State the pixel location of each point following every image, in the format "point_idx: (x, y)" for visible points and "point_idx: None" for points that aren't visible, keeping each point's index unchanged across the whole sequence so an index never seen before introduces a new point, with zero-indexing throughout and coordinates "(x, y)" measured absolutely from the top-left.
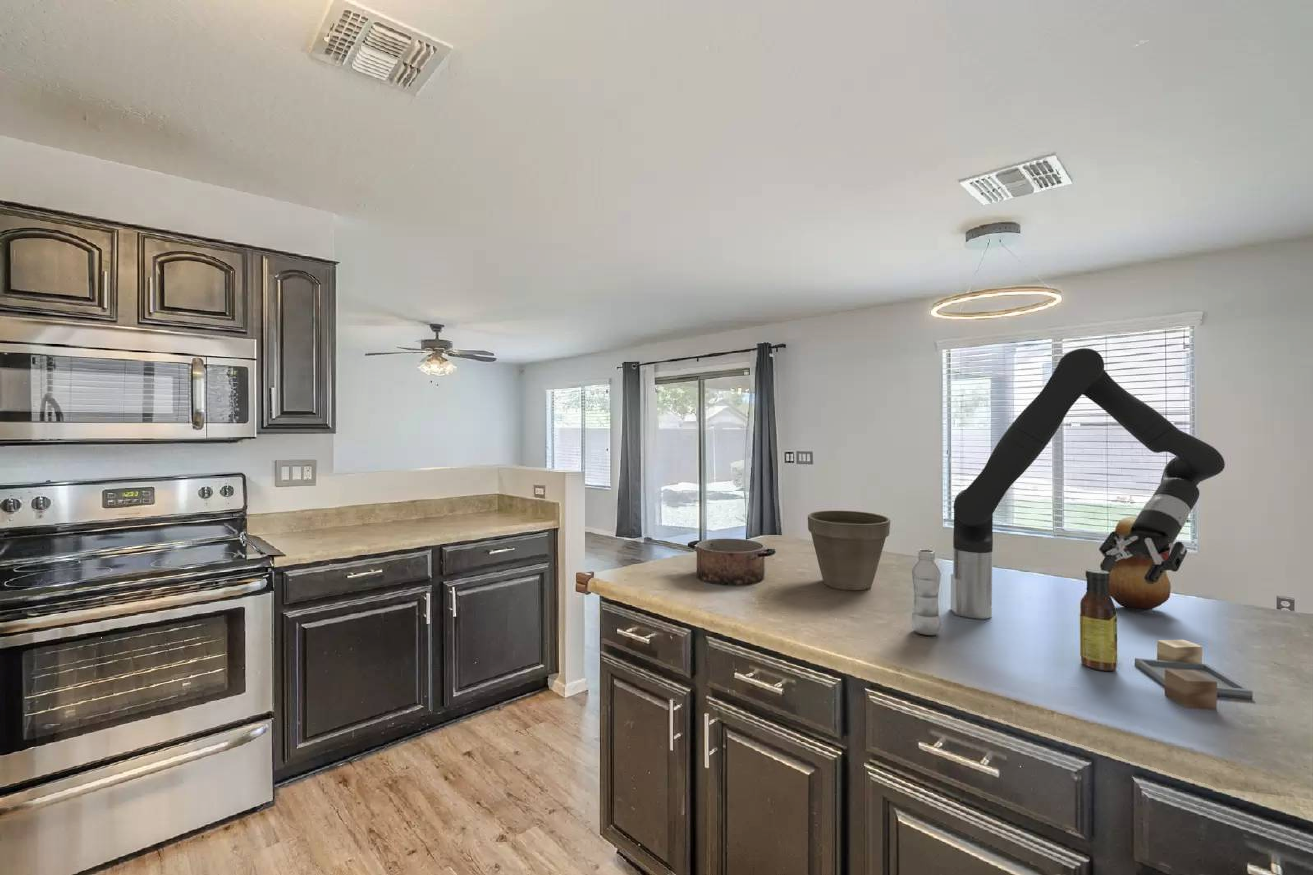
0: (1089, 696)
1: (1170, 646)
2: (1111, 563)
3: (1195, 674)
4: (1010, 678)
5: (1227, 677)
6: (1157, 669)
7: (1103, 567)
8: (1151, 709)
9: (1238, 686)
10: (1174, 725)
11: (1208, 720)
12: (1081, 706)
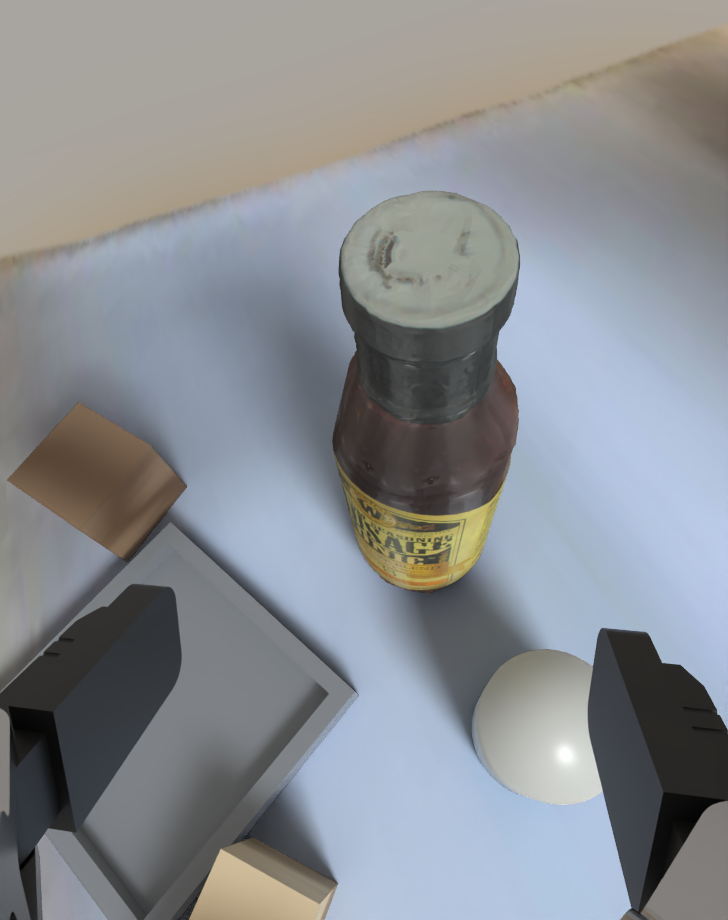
0: (305, 294)
1: (245, 861)
2: (625, 784)
3: (68, 486)
4: None
5: None
6: (270, 692)
7: (616, 630)
8: (178, 357)
9: None
10: (117, 320)
11: None
12: (287, 231)
